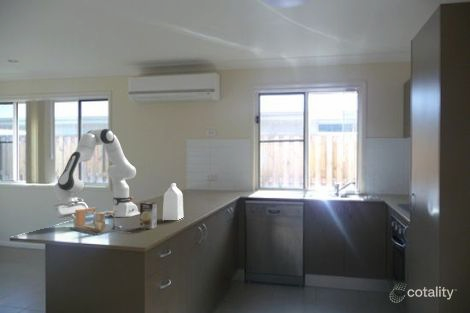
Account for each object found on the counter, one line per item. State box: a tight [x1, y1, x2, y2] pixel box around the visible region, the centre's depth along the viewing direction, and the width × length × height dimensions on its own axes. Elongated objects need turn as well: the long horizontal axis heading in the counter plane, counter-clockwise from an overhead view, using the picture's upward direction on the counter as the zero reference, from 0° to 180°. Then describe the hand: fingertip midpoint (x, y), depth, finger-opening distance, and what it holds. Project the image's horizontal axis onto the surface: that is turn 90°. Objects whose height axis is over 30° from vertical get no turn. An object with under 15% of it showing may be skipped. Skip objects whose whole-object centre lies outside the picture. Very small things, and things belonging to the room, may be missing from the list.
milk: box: [162, 182, 185, 221], centre depth 254 cm, size 12×12×26 cm
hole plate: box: [68, 222, 126, 236], centre depth 219 cm, size 20×28×2 cm
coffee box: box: [139, 201, 158, 230], centre depth 225 cm, size 9×6×16 cm
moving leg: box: [74, 206, 98, 225], centre depth 222 cm, size 13×4×10 cm, turn 147°
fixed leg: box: [73, 210, 116, 232], centre depth 217 cm, size 13×26×11 cm, turn 57°
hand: (77, 220), depth 220 cm, fingers closed, pressing on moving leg
